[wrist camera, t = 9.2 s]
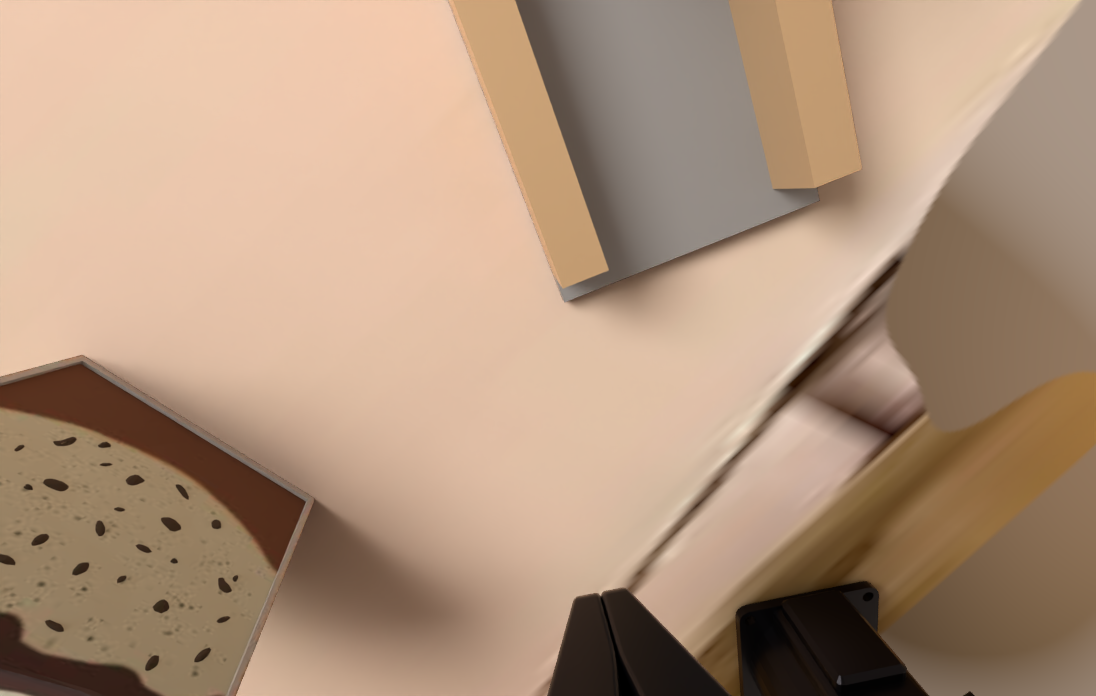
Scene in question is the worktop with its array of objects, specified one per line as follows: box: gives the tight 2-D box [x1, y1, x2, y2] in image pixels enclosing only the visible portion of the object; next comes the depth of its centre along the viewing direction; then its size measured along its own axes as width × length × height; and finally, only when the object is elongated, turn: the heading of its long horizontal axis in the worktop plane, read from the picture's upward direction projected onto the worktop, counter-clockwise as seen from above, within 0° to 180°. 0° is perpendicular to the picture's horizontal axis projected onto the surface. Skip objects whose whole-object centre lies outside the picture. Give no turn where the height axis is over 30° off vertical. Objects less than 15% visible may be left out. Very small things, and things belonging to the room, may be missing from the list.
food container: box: [0, 355, 315, 696], centre depth 15 cm, size 12×6×10 cm, turn 49°
